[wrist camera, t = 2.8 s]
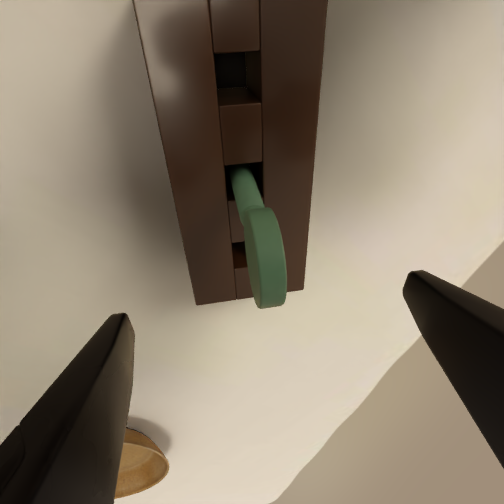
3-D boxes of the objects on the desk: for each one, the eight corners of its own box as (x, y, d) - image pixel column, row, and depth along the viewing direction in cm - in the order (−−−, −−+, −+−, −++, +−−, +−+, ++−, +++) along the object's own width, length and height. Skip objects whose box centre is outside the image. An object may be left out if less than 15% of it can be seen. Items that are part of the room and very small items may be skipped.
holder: (297, -26, 13) (332, -42, 10) (287, 251, 22) (304, 290, 19) (140, -21, 12) (124, -37, 9) (195, 263, 21) (196, 306, 18)
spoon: (242, 128, 16) (293, 249, 9) (245, 188, 19) (287, 325, 11) (222, 130, 16) (256, 254, 9) (227, 190, 19) (257, 330, 11)
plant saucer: (149, 476, 40) (147, 501, 38) (16, 478, 34) (5, 507, 32) (188, 418, 33) (188, 445, 31) (29, 408, 28) (15, 439, 25)
